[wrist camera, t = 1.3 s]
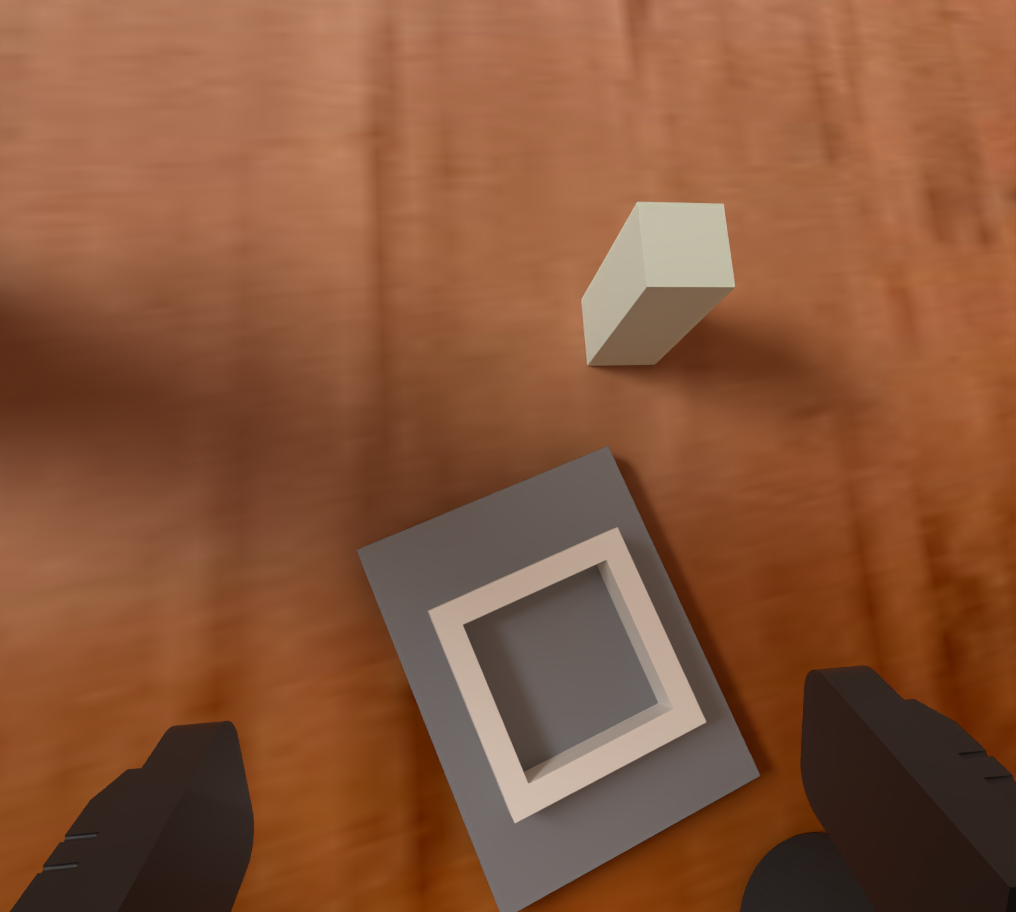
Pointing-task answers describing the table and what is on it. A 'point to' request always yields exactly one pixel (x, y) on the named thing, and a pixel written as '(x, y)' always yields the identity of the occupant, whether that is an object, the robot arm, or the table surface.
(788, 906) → the pen holder
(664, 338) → the sage block
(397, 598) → the grey base with frame
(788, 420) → the table surface
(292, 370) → the table surface
